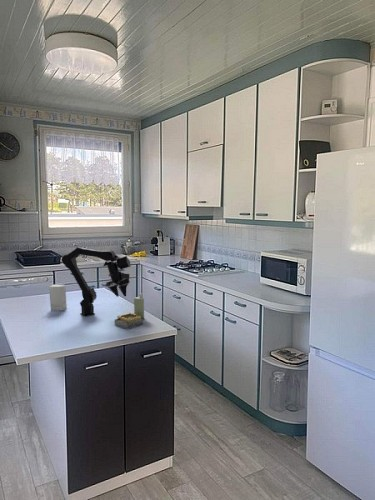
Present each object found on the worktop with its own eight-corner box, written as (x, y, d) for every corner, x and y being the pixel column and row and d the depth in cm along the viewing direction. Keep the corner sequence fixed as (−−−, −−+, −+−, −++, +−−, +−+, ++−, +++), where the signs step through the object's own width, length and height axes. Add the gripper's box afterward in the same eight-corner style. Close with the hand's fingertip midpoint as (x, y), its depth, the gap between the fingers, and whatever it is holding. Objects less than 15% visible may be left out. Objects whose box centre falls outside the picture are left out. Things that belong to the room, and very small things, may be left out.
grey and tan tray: (127, 329, 205) (127, 320, 205) (114, 324, 213) (114, 316, 212) (143, 324, 214) (143, 316, 213) (130, 320, 221) (130, 312, 220)
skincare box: (67, 308, 246) (66, 284, 245) (62, 311, 240) (61, 286, 238) (54, 308, 247) (53, 284, 245) (49, 310, 241) (48, 286, 239)
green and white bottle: (138, 321, 220) (138, 295, 218) (132, 319, 224) (132, 293, 222) (146, 318, 224) (145, 293, 222) (139, 317, 228) (139, 292, 226)
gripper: (133, 266, 226) (140, 291, 227) (117, 268, 240) (125, 292, 241) (117, 271, 219) (124, 297, 220) (102, 273, 233) (109, 298, 234)
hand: (121, 296), depth 229 cm, fingers open, 9 cm apart
